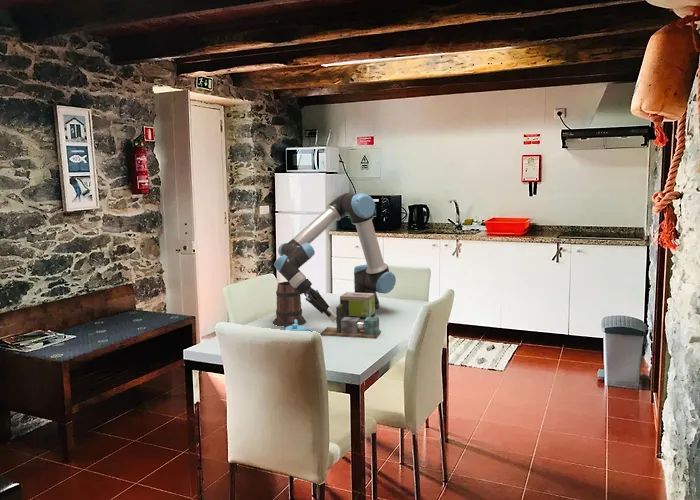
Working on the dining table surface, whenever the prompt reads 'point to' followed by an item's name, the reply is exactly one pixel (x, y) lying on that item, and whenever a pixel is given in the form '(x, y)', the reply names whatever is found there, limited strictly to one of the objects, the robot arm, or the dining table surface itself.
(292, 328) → the teapot
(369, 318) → the tube stand
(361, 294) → the tea box
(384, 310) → the dining table surface
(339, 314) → the grey piece
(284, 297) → the tankard
